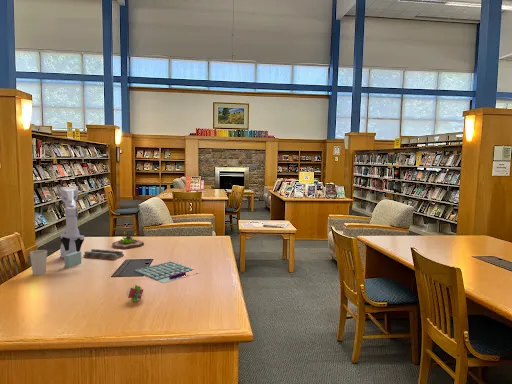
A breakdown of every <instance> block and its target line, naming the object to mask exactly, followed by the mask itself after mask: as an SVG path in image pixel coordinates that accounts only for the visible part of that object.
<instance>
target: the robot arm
mask: <svg viewBox="0 0 512 384" xmlns="http://www.w3.org/2000/svg"><path fill="white" fill-rule="evenodd" d="M78 188H79V187H78V186H66V187H65V186H64V187H63V186H61V187H60V188H59V189H60V190H59V191H60V193H59V194H60V195H59V196H60V200H61V201H62V202H64V205H65V208H64V216H65V224H66V227H65V228H64V229H63V230H62V231H61V234H60V236H59V237H60V242H61V244H60V250H59V251H60V255H59V258H63V259H64V255H67V254H70V253H73V252H76V251H77V252H81V248H82V245H83V243H84V241H85V235H80V230H79V228H78V216H79V209H78V206H77V200H78V197H79V189H78Z"/></svg>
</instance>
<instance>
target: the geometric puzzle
mask: <svg viewBox="0 0 512 384" xmlns="http://www.w3.org/2000/svg"><path fill="white" fill-rule="evenodd" d="M144 290H145V289H144V288H143V287H142V286H139V285H137V284H134V287H130V288H128V289H127V291H126V296H127V297H126V298H128V299H129V300H130V301H132V300H133V301H132V302H134V301H135V303H137V302H139V301H140V300H141V299H142V297H144Z"/></svg>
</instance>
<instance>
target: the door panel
mask: <svg viewBox="0 0 512 384" xmlns="http://www.w3.org/2000/svg"><path fill="white" fill-rule="evenodd" d="M63 261H64V268H66V269H69V268H70V269H71V268H72V266H73V267H75V266H78V265H81V264H82V251H79V252H77V251H76V252H73V253H70V254H67V255H64V258H63Z"/></svg>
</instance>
